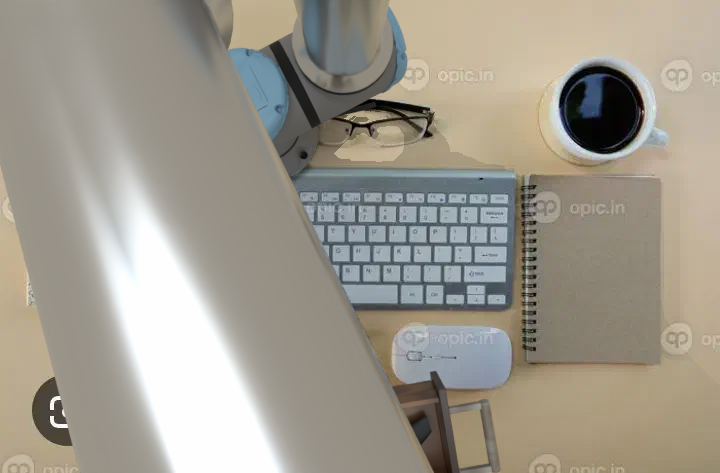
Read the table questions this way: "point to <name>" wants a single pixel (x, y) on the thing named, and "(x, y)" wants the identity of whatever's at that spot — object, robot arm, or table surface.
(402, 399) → the drawer
